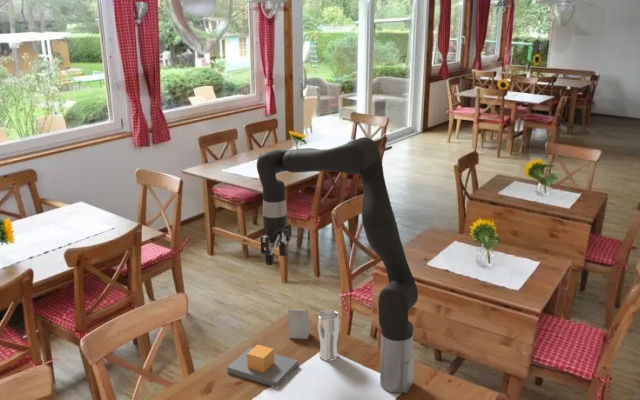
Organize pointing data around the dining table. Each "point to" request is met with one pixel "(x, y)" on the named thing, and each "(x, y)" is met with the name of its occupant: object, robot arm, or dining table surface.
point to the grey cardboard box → (298, 324)
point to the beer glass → (328, 333)
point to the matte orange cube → (260, 358)
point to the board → (270, 376)
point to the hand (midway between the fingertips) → (276, 260)
